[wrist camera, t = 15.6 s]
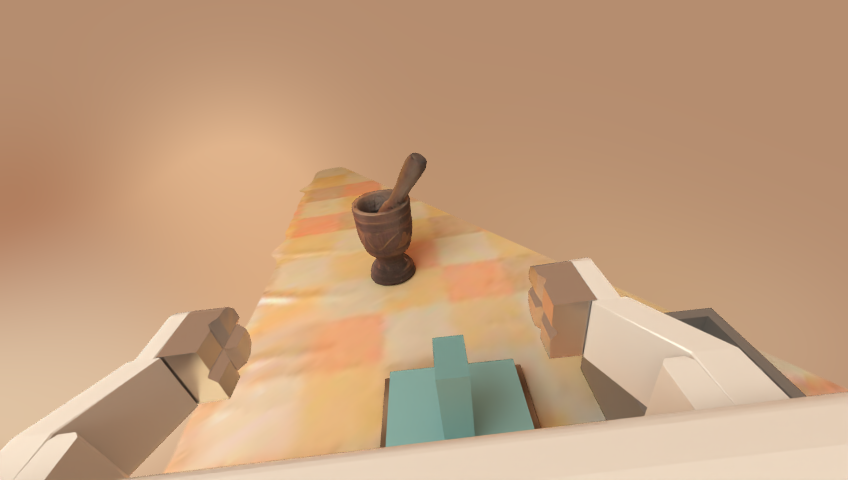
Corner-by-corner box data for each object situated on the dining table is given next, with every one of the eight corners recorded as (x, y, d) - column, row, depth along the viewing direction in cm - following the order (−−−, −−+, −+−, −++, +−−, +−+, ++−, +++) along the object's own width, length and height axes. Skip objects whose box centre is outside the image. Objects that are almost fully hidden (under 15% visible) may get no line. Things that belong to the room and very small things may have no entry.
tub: (795, 476, 28) (837, 425, 24) (641, 490, 28) (661, 442, 25) (692, 356, 38) (711, 307, 35) (580, 368, 39) (587, 321, 35)
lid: (554, 514, 27) (567, 430, 21) (386, 530, 27) (354, 451, 22) (512, 372, 38) (513, 292, 32) (393, 385, 38) (373, 308, 33)
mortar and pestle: (435, 252, 62) (421, 139, 52) (442, 281, 55) (427, 156, 45) (369, 262, 62) (343, 150, 52) (368, 293, 54) (336, 170, 44)
